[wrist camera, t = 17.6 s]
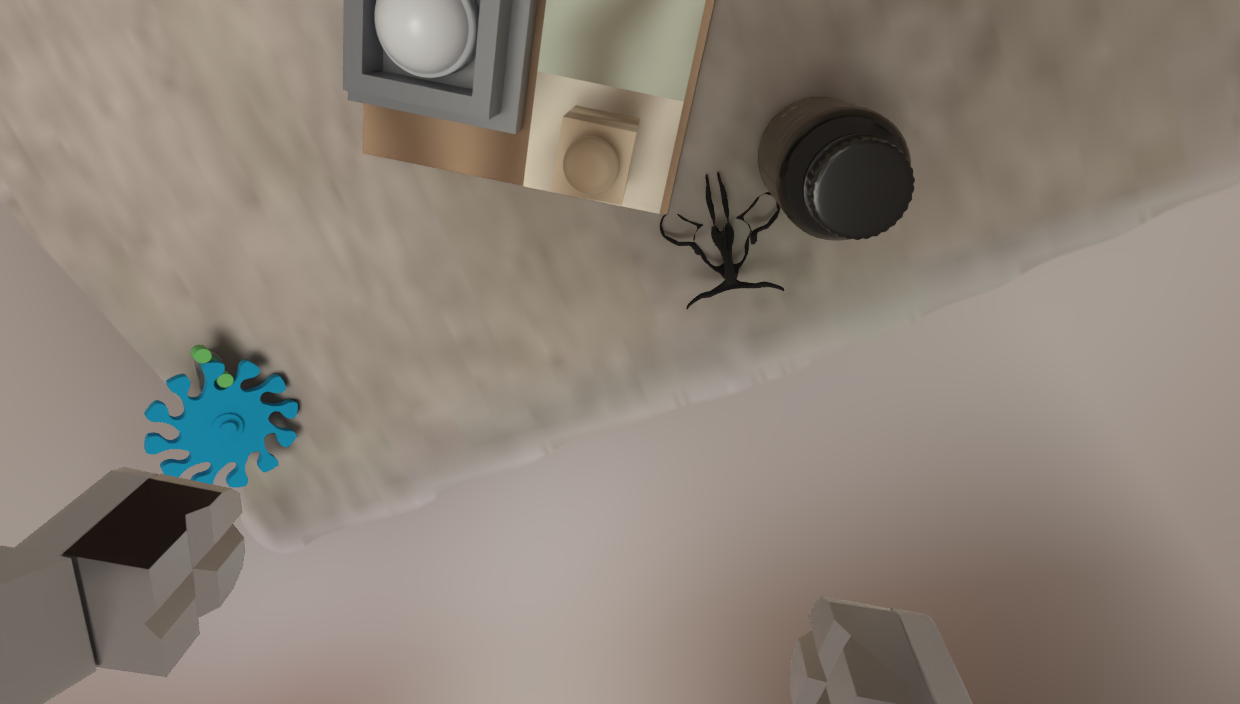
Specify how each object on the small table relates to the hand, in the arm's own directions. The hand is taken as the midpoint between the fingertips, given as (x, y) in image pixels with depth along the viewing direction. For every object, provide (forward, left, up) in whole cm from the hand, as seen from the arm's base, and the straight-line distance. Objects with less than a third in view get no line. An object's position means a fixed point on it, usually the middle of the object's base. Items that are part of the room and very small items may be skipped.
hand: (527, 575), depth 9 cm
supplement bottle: (-11, -2, -37) cm, 39 cm away
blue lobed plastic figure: (+26, +24, -37) cm, 51 cm away
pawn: (+2, 0, -36) cm, 36 cm away
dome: (+12, -5, -34) cm, 36 cm away
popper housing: (+12, -5, -37) cm, 39 cm away
